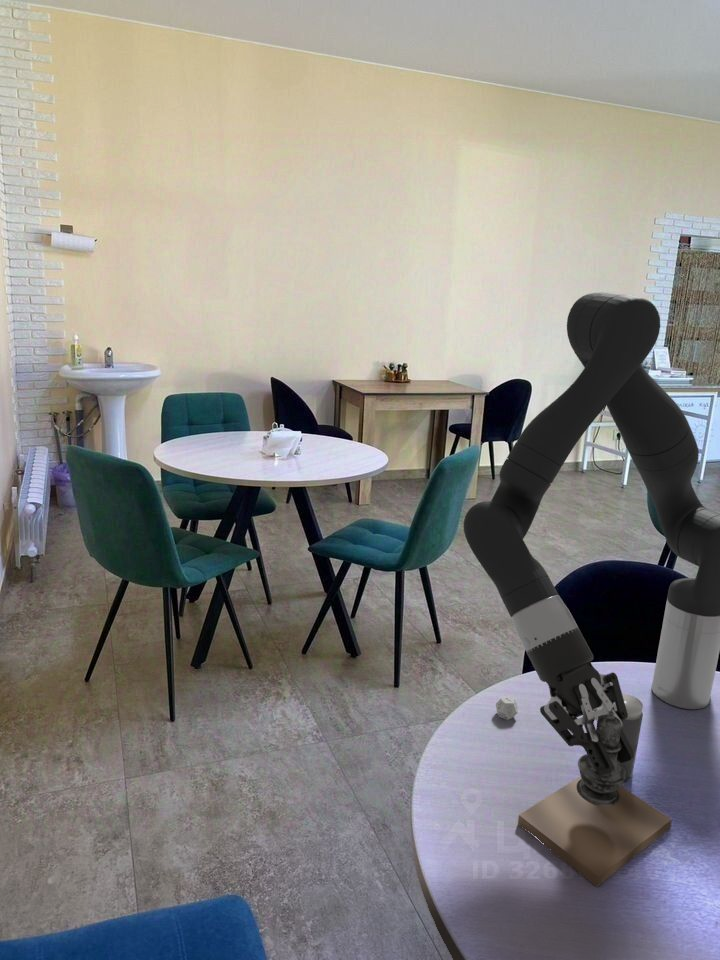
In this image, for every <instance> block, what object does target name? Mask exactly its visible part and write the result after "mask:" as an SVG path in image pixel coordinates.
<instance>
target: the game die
mask: <svg viewBox="0 0 720 960" xmlns="http://www.w3.org/2000/svg"><path fill="white" fill-rule="evenodd" d="M495 707H496V713H497V715H498V716H499V717H500V718H502V719H504V720H506V721H509V720H511V719H513V718H514V717H515V716H516V715H517V714H519V706H518V703H517V702H516V700H515V698H513V697H510V696H508V695H505V696H502V697H501V698H500V699H499V700H498V701H497V702H496V703H495Z"/></svg>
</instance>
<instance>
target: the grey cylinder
mask: <svg viewBox="0 0 720 960" xmlns="http://www.w3.org/2000/svg"><path fill="white" fill-rule="evenodd" d="M622 695H623V699H624V703H625V706H626V710H627V713H628V717H627V718H625V719H624V720H623V721H622V730H623V732H624V734H625V736H626V738H627V740H628V741H629V744H630V745H631V747H632V750H633V754H634V758H633V759H632V760H630V761H626V762H623V763H621V762H619V761H618V759H617V761H618V762H619V763H620V764H621V765H622V766H623V768H624V769H625V771H626V778H625V780H624V781H623V782H622V783H625V782H628V781H630V780H632V778H633V773H634V767H635V763H636V756H637V750H638V745H639V739H640V735H641V728H642V721H643V718H644V717H643V716H644V714H643V707H644V705H643V702H642V701H641V700H640V699H639V698H638V697H636V696H634V695H632V694H630V693H625V692H622ZM613 706H614V710H615V711H617V708H616V704H615V702H614V703H613Z"/></svg>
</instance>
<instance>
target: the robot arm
mask: <svg viewBox="0 0 720 960" xmlns="http://www.w3.org/2000/svg"><path fill="white" fill-rule="evenodd" d="M566 320H567V321H566V333H567V338H568V341H569V344H570V347H571V348H572V351H573V352H574V354H575V355H576V357H577V358H578V360H579V361H580V364H582V366H583V370H582V371H581V373H580V374H579V375H578V377H577V378H576V379H575V381H573V382H572V384H571V385H569V387H568V388H567V389H566V390H565V391H563V392H562V393H561V395H559V396H558V397H557V398H556V399H555V400H554V401H552V402H551V403H550V404H549V405H548V406H546V407H545V408H544V409H543V410H542V411H540V412H539V413H538V414H537V415H536V416H535V417H534V418H533V419H532V420H530V422H529V423H528V424H527V426H526V427H525V428H524V429H523V431H522V432H521V434H520V435H519V437H518V438H517V440H516V442H515V444H514V445H513V446H512V449H511V450H510V451H509V453H508V455H507V457H506V459H505V460H504V462H503V464H502V466H501V468H500V471H499V474H498V475H499V480H500V481H499V484H498V486H497V489H496V490H495V493H494V495H493V496H492V499H491V500H485V501H480V502H477V503H476V504H474V505H472V506H471V507H470V508H469V509H468V511H467V512H466V513H465V516H464V520H463V533H464V536H465V540H466V542H467V543H468V546H469V548H470V549H471V552H472V553H473V555H474V557H475V558H476V559H477V561H478V563H479V564H480V565H481V567H482V568H483V570H484V571H485V573H486V574H487V575H488V577H489V578H490V580H491V581H492V583H493V584H494V586H495V587H496V589H497V592H498V594H499V596H500V598H501V600H502V602H503V604H504V606H505V608H506V610H507V612H508V614H509V616H510V617H511V621H512V623H513V626H514V629H515V631H516V634H517V636H518V639H519V640H520V642H521V645H522V646H523V649H524V650H525V652H526V654H527V656H528V658H529V660H530V662H531V664H532V666H533V668H534V670H535V672H536V674H537V676H538V678H539V680H540V681H541V682H542V683H546V684H547V686H548V689H549V695H550V699H549V701H548V702H547V704H545V705H542V706H540V708H539V710H540V711H539V712H540V714H541V715H542V717H544V718H545V720H546V721H547V722H548V723H549V724H550V725H551V727H552V728H553V729H554V730H555V731H556V733H557V734H558V735H559V736H560V737H561V738H562V740H563V741H564V742H565V743H566V745H568V746H569V747H573V746H580V747H582V748H583V750H584V751H585V752H586V754H587V755H588V757H589V759H590V760H591V763H592V765H593V767H594V769H595V770H596V771H597V772H598V773H599V774H600V775H605V774H609V773H611V772H613V771H614V770H615V767H614V765H613V763H612V761H611V759H610V757H609V755H608V753H607V751H606V749H605V748H604V746H603V744H602V742H601V741H598V739H599V738H598V735H597V732H596V726H595V723H594V722H595V721H596V722H597V721H598V719H599V717H600V716H602V715H606V714H609V712H610V711H613V713H614V715H613V716H615V717H617V718H618V719H619V720H620V722H621V724H622V721H623V720H624V719H625V718H627V717H628V713H627V710H626V706H625V703H624V699H623V695H622V693H623V691H622V689H621V684H620V681H619V678H618V676H617V675H618V674H616V673H615V672H610V673H607V674H601V673H599V671H598V670H597V669H596V668H595V667H594V666H593V665H592V661H593V660H594V654H593V653H592V651H591V649H590V647H589V645H588V643H587V641H586V639H585V638H584V636H583V633H582V632H581V630H580V628H579V626H578V624H577V623H576V622H577V621H576V620H575V618H574V617H573V615H572V613H571V612H570V610H569V608H568V607H567V605H566V603H564V601H563V599H562V598H561V596H560V595H559V593H558V591H557V589H556V588H555V586H554V584H553V582H552V580H551V578H550V576H549V575H548V572H547V571H546V570H545V568H544V567H543V564H541V562H539V561H538V560H537V559H536V558H534V556H533V555H532V554H531V552H530V550H529V548H528V546H527V545H526V542H525V540H524V538H526V535H527V533H528V531H529V530H530V527H531V526H532V523H533V521H534V519H535V517H536V514H537V512H538V510H539V507H540V505H541V502H542V500H543V497H544V496H545V493H546V492H547V491H548V490H549V488H550V486H551V485H552V484H553V482H554V480H555V478H556V477H557V475H558V474H559V472H560V471H561V468H562V467H563V465H564V464H565V462H566V460H567V459H568V457H569V456H570V454H571V452H572V451H573V450H574V448H575V446H576V445H577V443H578V442H579V440H580V439H581V437H582V436H583V435H584V433H585V432H586V431H587V430H588V429H589V427H590V426H591V425H592V423H593V422H594V421H595V420H596V418H598V417H599V415H600V414H601V413H602V411H604V409H605V408H606V407H607V410H608V411H609V413H610V415H611V418H612V420H613V421H614V424H615V426H616V427H617V429H618V432H619V434H620V436H621V438H622V440H623V443H624V445H625V448H626V449H627V452H628V454H629V456H630V458H631V460H632V462H633V464H634V466H635V467H636V470H637V472H638V473H639V474H640V477H641V479H642V482H643V483H644V486H645V489H646V490H647V493H648V494H649V496H650V499H651V500H652V502H653V505H654V507H655V510H656V514H657V516H658V520H659V523H660V526H661V529H662V533H663V535H664V538H665V542H666V543H667V546H668V547H669V549H670V550H671V551H672V553H674V554H675V556H677V557H678V558H680V559H682V560H684V561H687V562H689V564H692V565H694V566H697V567H698V569H697V572H696V573H697V574H696V575H695V577H684V578H678V579H675V580H673V581H672V582H671V583H670V585H669V588H668V591H667V592H668V593H667V598H666V604H665V607H664V608H665V610H664V615H663V621H662V626H661V627H662V628H661V631H660V639H659V643H658V649H657V656H656V662H655V667H654V671H653V677H652V683H651V691H652V692H653V694H654V695H655V696H656V697H657V698H659V700H661V701H663V702H665V703H667V704H669V705H671V706H674V707H677V708H681V709H685V710H700V709H703V708H706V707H707V706H708V705H709V703H710V699H711V694H712V690H713V685H714V680H715V676H716V671H717V665H718V660H719V655H720V512H717V511H715V510H713V509H709V508H707V507H706V506H705V505H703V503H702V502H701V501H700V500H699V498H698V496H697V494H696V492H695V489H694V488H693V487H694V486H693V485H692V478H693V475H694V473H695V471H696V469H697V466H698V462H699V456H700V455H699V453H700V452H699V446H698V444H697V440H696V437H695V435H694V433H693V430H692V428H691V426H690V423H689V421H688V419H687V417H686V416H685V414H684V412H683V410H682V409H681V407H680V406H679V405H678V404H677V403H676V401H675V400H674V399H673V398H672V397H671V396H670V394H668V393H667V391H665V390H664V389H663V387H662V386H660V384H658V383H657V381H655V379H654V378H652V376H651V375H650V374H649V373H648V372H647V370H646V369H645V368H644V366H643V365H642V364H643V363H644V361H645V360H646V359H647V357H648V356H649V354H650V353H651V351H652V350H653V349H654V347H655V344H656V343H657V341H658V339H659V335H660V332H661V331H660V330H661V318H660V314H659V311H658V309H657V307H656V306H655V304H654V303H653V302H652V301H650V300H649V299H647V298H644V297H640V296H636V295H629V294H622V293H621V294H620V293H614V292H613V293H612V292H592V293H587V294H585V295H582V296H581V297H579V298H578V299H577V300H576V301H575V302H574V303H573V304H572V306H571V308H570V310H569V312H568V314H567V319H566ZM614 702H615V704H616V708H617V711H615V710H614V706H613V703H614ZM579 717H580V718H579ZM584 729H585V730H584ZM585 731H586V732H585ZM619 742H620V743H621V750H619V751H618V754H617V759H618V761H619V762H621V763H623V762H626V761H630V760H632V759H633V758H634V754H633V750H632V747H631V745H630V744H629V741H628V740H627V738H626V736H625V734H624V732H623V730H622V728H621V734H620V740H619Z"/></svg>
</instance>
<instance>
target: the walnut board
mask: <svg viewBox="0 0 720 960" xmlns="http://www.w3.org/2000/svg"><path fill="white" fill-rule="evenodd" d="M580 779H582V778H581V775H579V776H578V777H577V778H575V779H573V780H572V781H570V782H569V783H567V784H565V785H564V786H562V787H561V788H559V789H558V790H556V791H554V792H553V793H551V794H550V795H548V796H547V797H545V798H544V799H542V800H541V801H538V802H537V803H536V804H534V805H532V806H531V807H529V808H527V809H526V810H524V811H523V812H521V813H520V814H518V821H517V825H518V824H519V825H520V826H521V827H520V826H519V825H518V826H519V827H520V828H522V827H523V828H524V829H526V830H527V831H529V832H530V833H532V834H533V835H534V836H536V837H537V838H538V839H539V840H540V841H541V842H542V843H544V845H546V846H547V847H548V848H549V849H551V850H552V851H553V852H554V853H555V856H557V857H558V856H559V857H560V858H559V857H558V858H559V859H560V860H562V859H563V860H564V861H563V860H562V861H563V862H565V863H566V864H567V865H568V866H569V867H570V868H572V869H573V870H574V871H576V872H577V873H579V874H580V875H581V876H582V877H583V878H585V879H586V880H587V881H588V882H590V883H591V884H592V885H593V886H595V887H596V888H598V887H599V886H601V884H603V883H604V882H605V881H607V880H608V879H609V878H610V877H612V876H613V875H614V874H615V873H617V872H618V871H619V870H620V869H621V868H623V867H624V866H625V865H626V864H628V863H629V862H631V860H633V859H634V858H636V857H637V856H638V855H639V854H640V853H641V852H642V851H645V850H646V849H647V848H648V847H649V846H650V845H652V844H653V843H655V841H657V840H658V839H659V838H660V837H661V836H663V835H664V834H665V833H667V832H668V831H669V830H671V826H672V820H673V818H672V817H669V816H668V815H667V814H665V813H664V812H662V811H661V810H659V809H657V808H656V807H654V806H652V804H650V803H648V802H646V801H645V800H644V799H642V798H640V797H639V796H638V795H636V794H634V793H633V792H631V791H629V790H628V789H626V788H625V787H623V785H620V787H619V788H618V789H617V790H618V792H619V801H618V803H616V804H615V805H613V806H609V807H603V806H597V805H594V804H592V803H589V802H588V801H586V800H585V799H583V798H582V797H581V796H580V794H579V793H578V791H577V783H578V781H579V780H580ZM523 828H522V829H523ZM524 829H523V830H524ZM527 831H526V832H527ZM541 842H540V843H541ZM542 843H541V844H542ZM544 845H543V846H544ZM546 846H545V847H546ZM547 847H546V848H547ZM548 848H547V849H548ZM549 849H548V850H549ZM551 850H550V851H551ZM552 851H551V852H552ZM553 852H552V853H553ZM554 853H553V854H554Z"/></svg>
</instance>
